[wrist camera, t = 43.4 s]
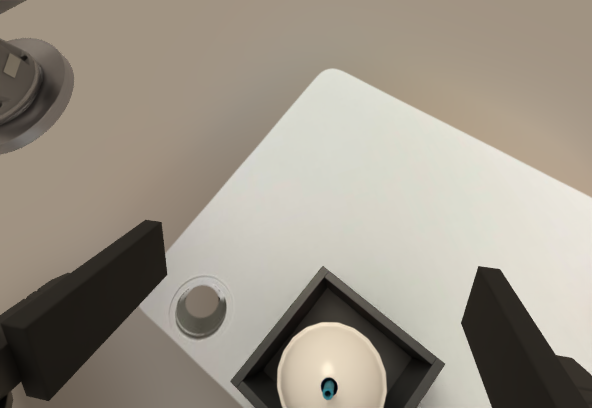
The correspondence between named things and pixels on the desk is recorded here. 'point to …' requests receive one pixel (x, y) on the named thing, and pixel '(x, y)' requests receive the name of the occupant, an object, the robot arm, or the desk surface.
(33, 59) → the robot arm
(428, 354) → the bin
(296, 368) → the smoothie
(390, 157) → the desk surface
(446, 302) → the desk surface
